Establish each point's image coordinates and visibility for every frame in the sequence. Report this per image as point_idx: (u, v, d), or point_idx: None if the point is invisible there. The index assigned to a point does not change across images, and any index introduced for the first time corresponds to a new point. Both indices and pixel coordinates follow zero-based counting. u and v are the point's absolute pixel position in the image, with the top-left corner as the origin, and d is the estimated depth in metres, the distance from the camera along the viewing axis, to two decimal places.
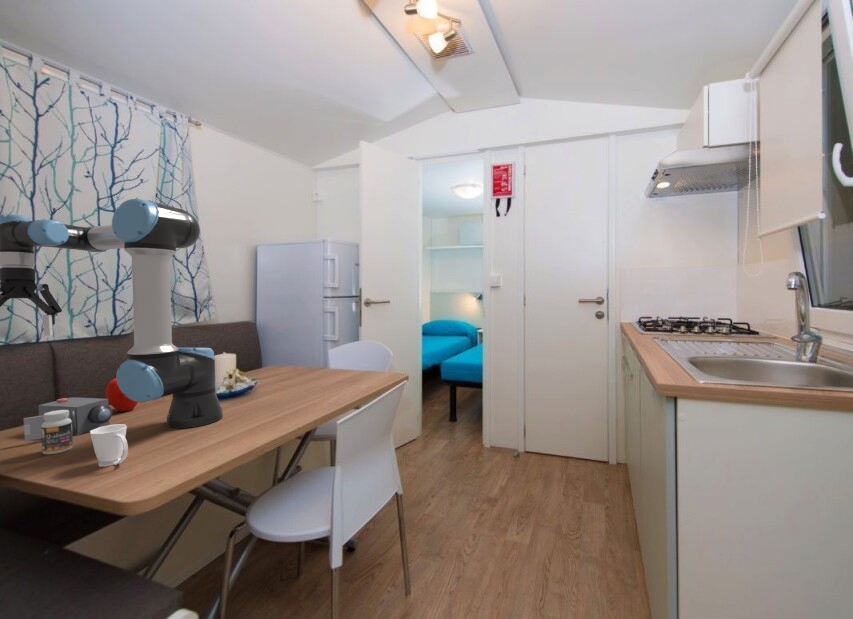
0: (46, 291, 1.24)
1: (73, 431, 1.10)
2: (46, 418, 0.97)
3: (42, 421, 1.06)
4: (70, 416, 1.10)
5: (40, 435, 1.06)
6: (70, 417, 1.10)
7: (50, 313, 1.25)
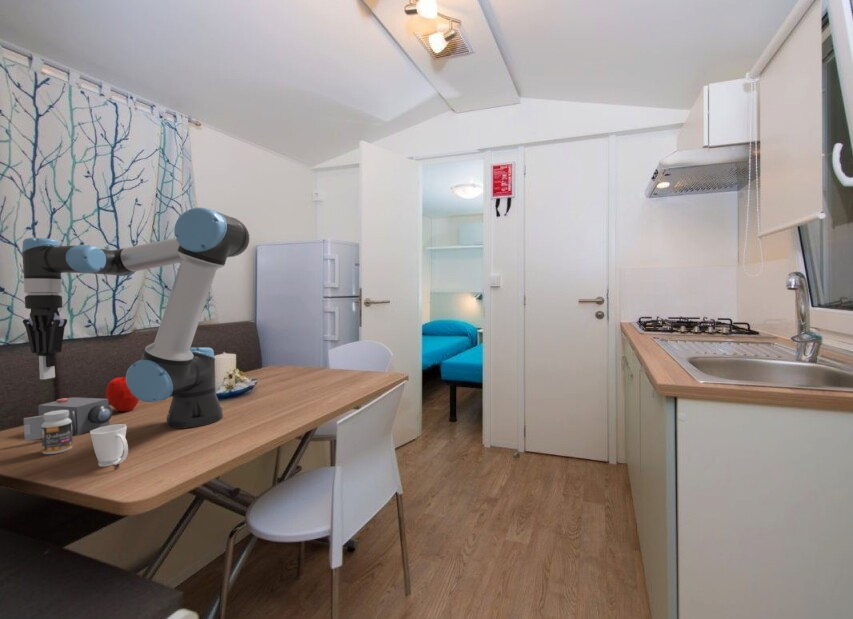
0: (52, 326, 1.08)
1: (73, 431, 1.10)
2: (46, 418, 0.97)
3: (42, 421, 1.06)
4: (70, 416, 1.10)
5: (40, 435, 1.06)
6: (70, 417, 1.10)
7: None
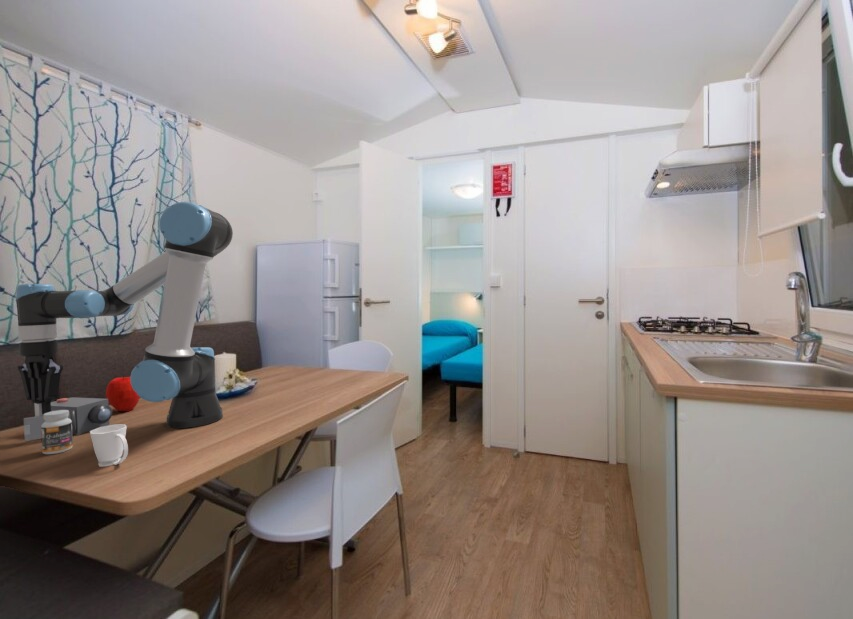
0: (48, 374, 1.06)
1: (73, 431, 1.10)
2: (46, 418, 0.97)
3: (42, 421, 1.06)
4: (70, 416, 1.10)
5: (40, 435, 1.06)
6: (70, 417, 1.10)
7: None
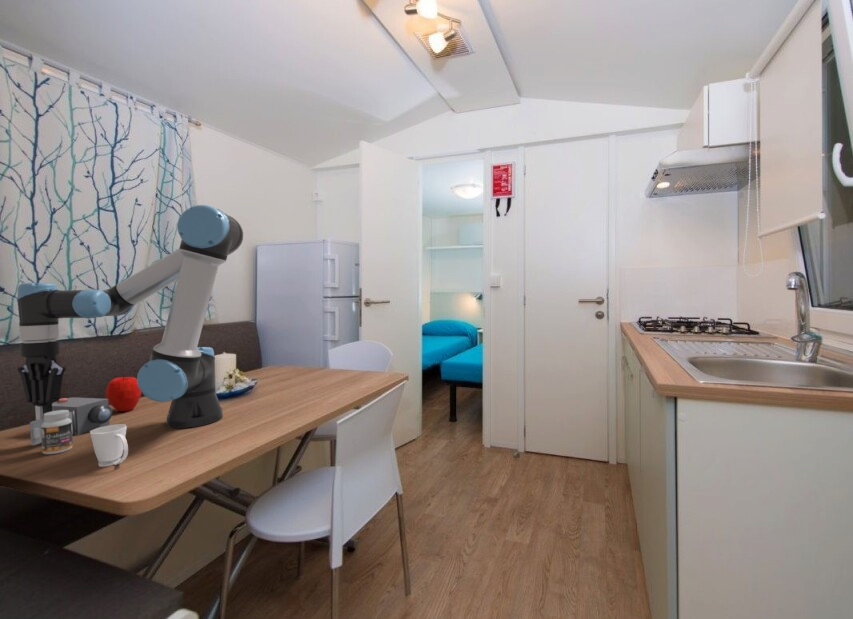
0: (50, 375, 1.03)
1: (74, 431, 1.11)
2: (46, 418, 0.97)
3: None
4: (72, 416, 1.10)
5: None
6: (72, 417, 1.10)
7: None
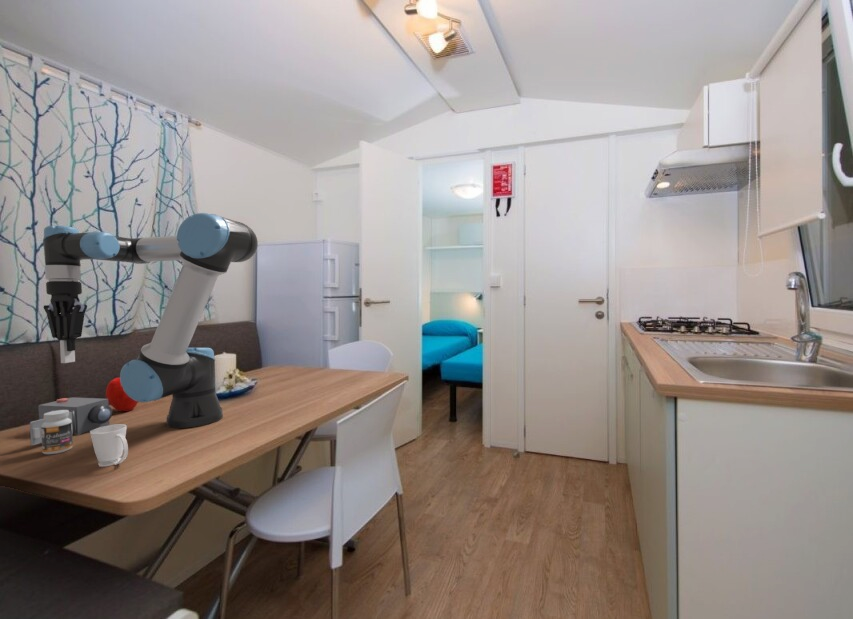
0: (73, 311, 1.11)
1: (74, 431, 1.11)
2: (46, 418, 0.97)
3: None
4: (72, 416, 1.10)
5: None
6: (72, 417, 1.10)
7: None
